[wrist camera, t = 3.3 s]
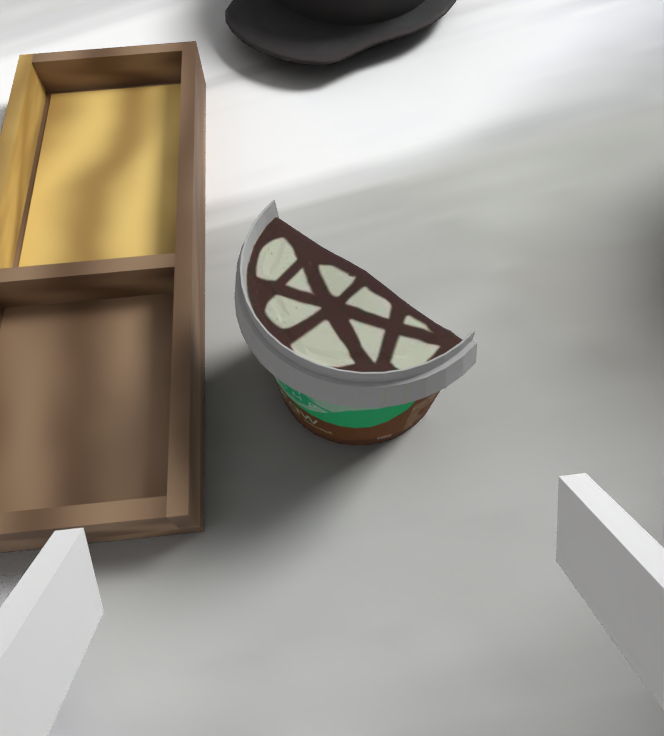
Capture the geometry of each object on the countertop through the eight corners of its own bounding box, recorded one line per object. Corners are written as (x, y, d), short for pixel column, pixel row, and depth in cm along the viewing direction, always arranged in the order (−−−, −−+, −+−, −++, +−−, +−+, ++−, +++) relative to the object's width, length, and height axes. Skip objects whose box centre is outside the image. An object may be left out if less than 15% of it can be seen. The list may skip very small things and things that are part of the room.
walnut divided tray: (205, 83, 47) (195, 41, 43) (204, 531, 30) (187, 514, 27) (41, 96, 46) (19, 54, 43) (-52, 558, 30) (-99, 544, 26)
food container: (213, 378, 34) (167, 275, 25) (284, 311, 36) (265, 194, 27) (378, 514, 30) (392, 448, 21) (447, 430, 32) (485, 338, 24)
